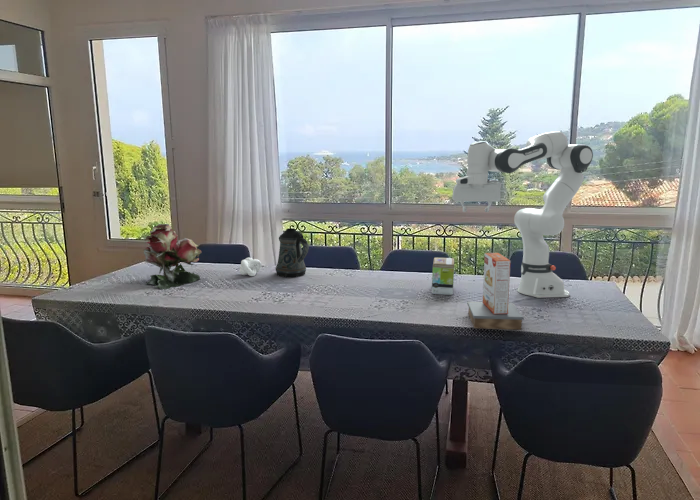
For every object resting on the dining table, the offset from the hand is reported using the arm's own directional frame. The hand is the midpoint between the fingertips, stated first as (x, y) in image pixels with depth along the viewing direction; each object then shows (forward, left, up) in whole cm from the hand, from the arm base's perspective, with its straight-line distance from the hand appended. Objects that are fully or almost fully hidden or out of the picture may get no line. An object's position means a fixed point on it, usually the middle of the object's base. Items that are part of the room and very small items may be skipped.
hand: (475, 211), depth 215 cm
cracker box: (-4, +31, -34) cm, 46 cm away
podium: (-4, +31, -39) cm, 50 cm away
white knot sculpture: (+114, -35, -39) cm, 126 cm away
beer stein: (+90, -38, -39) cm, 105 cm away
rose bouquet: (+151, -19, -39) cm, 157 cm away
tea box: (+12, -12, -39) cm, 43 cm away
